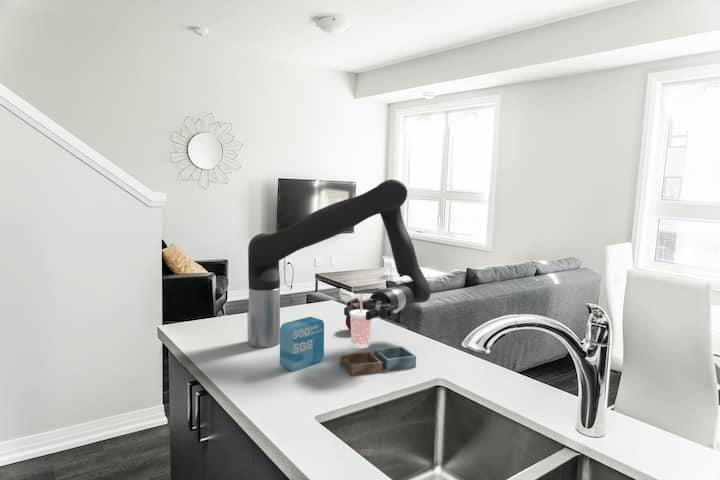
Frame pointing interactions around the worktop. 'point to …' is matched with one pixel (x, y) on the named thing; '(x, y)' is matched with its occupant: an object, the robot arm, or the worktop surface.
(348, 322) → the apple
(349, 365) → the cup dock
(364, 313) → the beverage cup
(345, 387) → the worktop surface
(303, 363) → the data package
